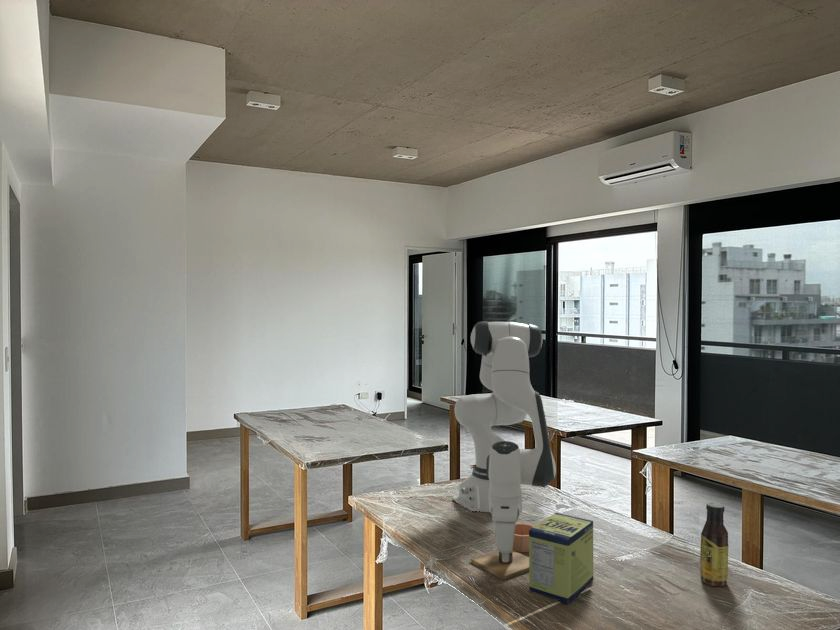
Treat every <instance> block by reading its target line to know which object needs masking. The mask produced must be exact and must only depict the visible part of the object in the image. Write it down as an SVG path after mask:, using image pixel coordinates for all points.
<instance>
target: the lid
mask: <svg viewBox="0 0 840 630" xmlns="http://www.w3.org/2000/svg"><path fill="white" fill-rule="evenodd" d="M470 562H471V563H473V564H475V565H477V566H479V567H481V568H483V569H485V570H487V571H489V572H490V573H492V574H494V575H496V576H498V577H500V578H502V579H504V580H507V579H509V578H512V577H515V576H517V575H520V574H523V573H525V572H528V571H529V556H527V555H524V554H522V553H521V552H519V551H514V550H513V549H512V552H511V553H509V562H502V553H500V552H498V549H497V550H493V551H491V552H488V553H484V554H481V555H479V556H475V557H473V558H471V561H470ZM490 573H489V574H490ZM492 574H491V575H492Z"/></svg>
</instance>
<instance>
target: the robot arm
mask: <svg viewBox="0 0 840 630" xmlns="http://www.w3.org/2000/svg"><path fill="white" fill-rule="evenodd" d="M543 342H544V341H543V335H542V330H541V329H540V327H539V326H538V325H536V324H532V323H522V322H516V321H488V320H485V321H484V320H483V321H478V322H476V324H474V326H473V328H472V331H471V333H470V344H471V346H472V350H473V351H474V352H475V353H476V354H478V355H481V364H480V371H479V381H480V383H481V384H482V385H483V386H484V387H485V388H486V389H488V390H490V391H492V392H491V393H476V394H473V393H472V394H469V395H464V396H460V397H459V398H458V399H457V400H456V402H455V404H454V412H453V413H454V416H455V417H454V418H456V421H457V422H458V423H459V424H460V425H461V426H463V427H464V428H465V429H466V431H468V433H469V434H470V436H471V438H472V441H473V445H474V453H475V455H474V456H475V464H472V465H470V469H471V470H472V472H471V475H469V476H468V477H467V478H465V479H464V480H463V481H461V482H460V484H459V487H458V488H459V489H458V493H457V494H454V495H453V496H452V498H451V500H452V499H454V500H455V501H457V502H459V503H460V504H462V505H463V506H465V507H466V508H468V509H469V510H468V509H467V510H468V511H470V510H471V511H470V512H472V511H477V512H476V513H478V512H479V511H480V512H479V513H490V515H491V520H492V522H494V530H495V531H494V532H495V540H496V541H495V542H496V548H497V550H498V552H500V553H502V562H509V553H511V552H512V549H513V542H514V532H515V524H516V523H518V520H519V518H520V517H519V516H520V515H521V514H522V512H523V491H522V486H523V485H527V486H532V487H540V488H546V487H547V486H548V485H551V483H552V482H554V480H555V477H556V473H557V468H556V467H557V466H556V461H555V458H554V455H553V452H552V448H551V445H550V441H551V440H550V437H549V430H548V425H547V418H546V413H545V410H544V404H543V399H542V397H541V394H540V393H539V392H538V391H536V390H535V389H534V388H533V386H532V384H531V379H530V360H529V359H530V358H533V357H536V356H537V355H538V354H540V352H541V349H542V345H543ZM527 416H528V417H529V419H530V421H531V424H532V429H533V436H534V442H535V447H534V448H532V449H531V448H530V449H529V448H528V449H527V448H520V446H519V445H518V444H517V443H515V442H512V441H507V440H505V439H504V438H502V437H501V436H500V435H497V434H495V433H493V432H492V427H493V426H508V425H509V426H510V425H515V424H518V423H522V422H524V420H525V419H526V418H527ZM455 501H454V502H455ZM457 502H456V503H457ZM460 504H459V505H460ZM462 505H461V506H462ZM463 506H462V507H463ZM465 507H464V508H465ZM466 508H465V509H466Z"/></svg>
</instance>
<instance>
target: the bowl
mask: <svg viewBox="0 0 840 630" xmlns="http://www.w3.org/2000/svg"><path fill="white" fill-rule="evenodd" d="M534 526H535V525H533V524H530V523H525V522H516V524H515V532H514V542H513V550H514V551H516V552H518V553H526V552H527V553H529V530H530V529H531V528H532V527H534Z"/></svg>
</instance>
